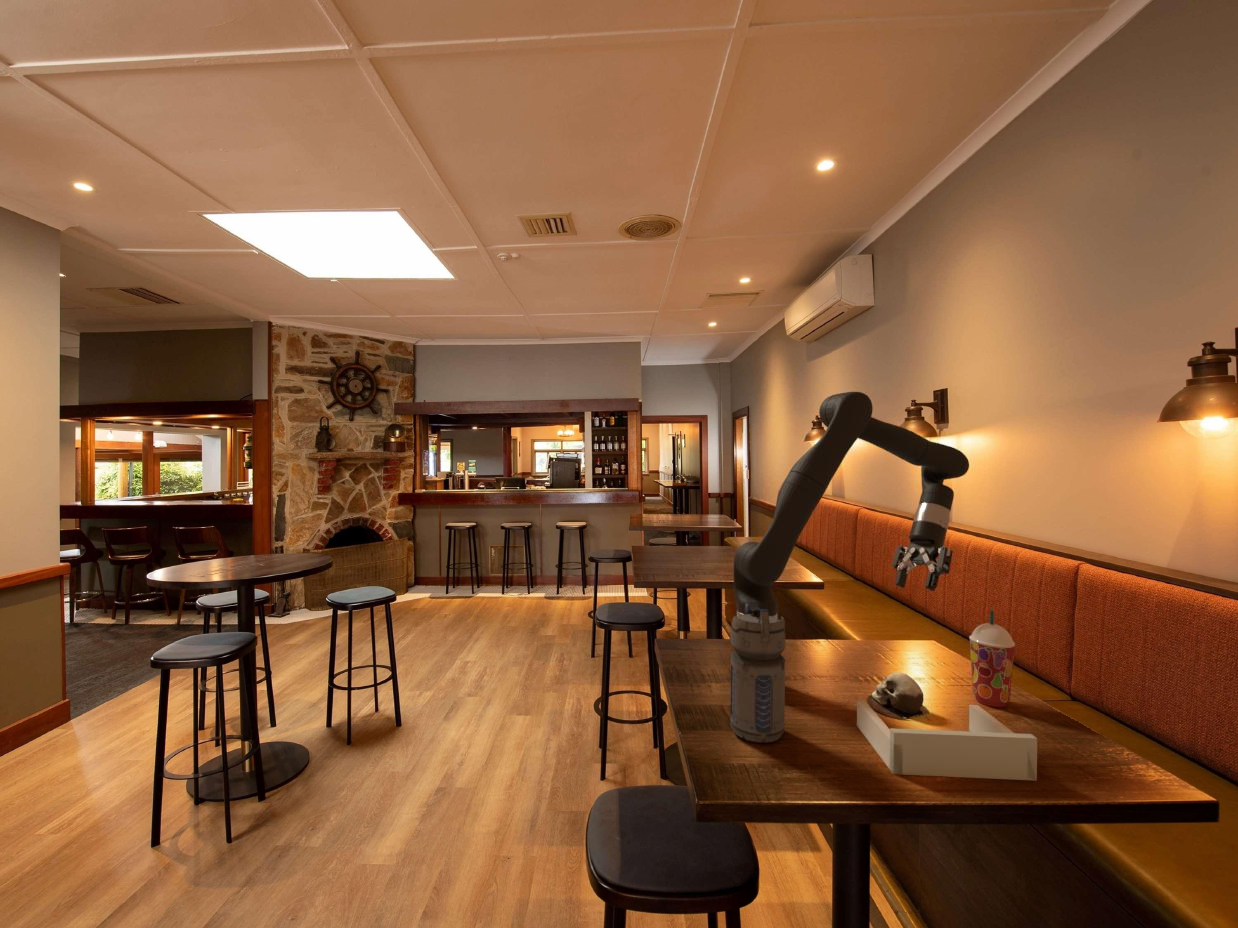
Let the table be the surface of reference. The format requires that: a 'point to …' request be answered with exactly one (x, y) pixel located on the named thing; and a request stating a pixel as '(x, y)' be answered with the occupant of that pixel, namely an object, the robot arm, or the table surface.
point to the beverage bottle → (757, 675)
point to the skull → (898, 697)
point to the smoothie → (991, 663)
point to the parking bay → (953, 748)
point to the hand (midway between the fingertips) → (914, 588)
